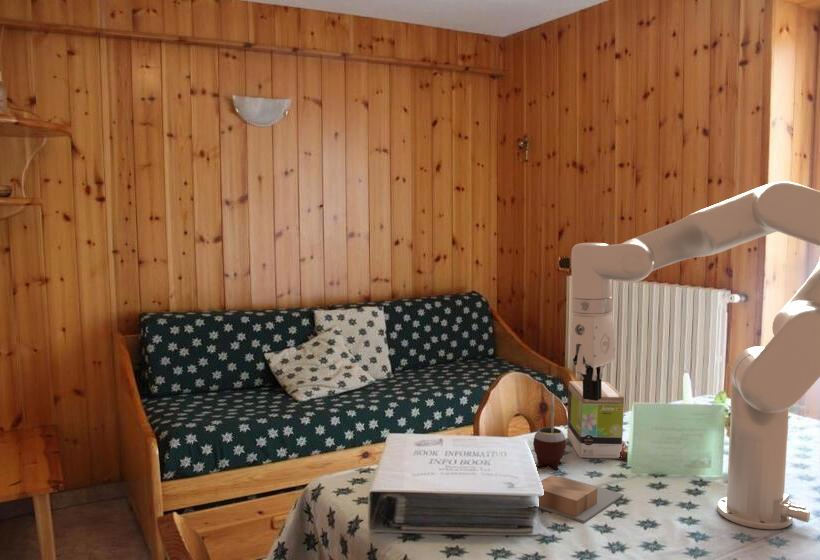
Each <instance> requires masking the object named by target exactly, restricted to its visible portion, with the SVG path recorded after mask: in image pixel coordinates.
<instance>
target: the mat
mask: <svg viewBox="0 0 820 560" xmlns="http://www.w3.org/2000/svg"><path fill="white" fill-rule="evenodd" d="M560 477H561V478H564V479H568V480H571V481H575V482H578V483H582V484H585V485H589V486H592V487H596V488H597V503H596V504H595V505H593V506H592V507H590V508H589V509H587V510H586V511H584V512H583V513H581V514H579V515H578V516H573V515H570V514H567V513H564V512H561V511H558V510H555V509H552V508H549V507H546V506H543V505H540V504H539V507H540V508H539V509H541V510H543V511H547V512H550V513H553V514H556V515H559V516H561V517H562V516H563V517H565V518H568V519H571V520H574V521H577V522H581V523H584V524H585V523H586V522H588V521H590V520H591V519H592V518H594V517H595V516H596V515H598V514H599V513H601V512H603V511H604V510H605V509H607V508H608V507H610V506H612V505H613V504H615V503H616V502H617V501H619V500H620V499H622V498H623V497H624V496H625V495H624V493H620V492H617V491H613V490H610V489H607V488H603V487H600V486H596V485H593V484H589V483H586V482H581V481H579V480H576V479H571V478H568V477H564V476H560Z"/></svg>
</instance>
